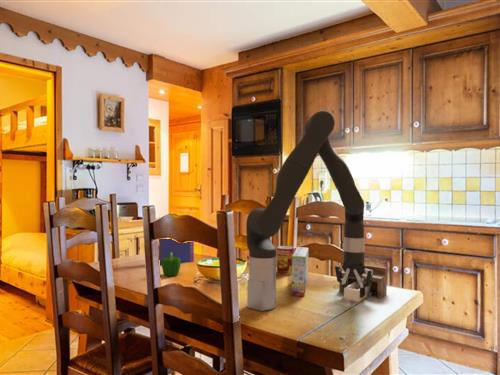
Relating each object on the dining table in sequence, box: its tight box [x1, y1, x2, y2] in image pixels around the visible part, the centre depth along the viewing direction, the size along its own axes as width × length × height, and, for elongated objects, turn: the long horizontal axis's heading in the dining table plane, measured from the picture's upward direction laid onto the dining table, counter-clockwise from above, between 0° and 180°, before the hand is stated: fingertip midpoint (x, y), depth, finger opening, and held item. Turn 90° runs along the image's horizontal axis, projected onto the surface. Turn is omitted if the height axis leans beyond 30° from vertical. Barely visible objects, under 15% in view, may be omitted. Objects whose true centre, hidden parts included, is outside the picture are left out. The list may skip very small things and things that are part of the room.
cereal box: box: [158, 217, 195, 266], centre depth 200 cm, size 17×5×24 cm, turn 120°
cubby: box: [338, 264, 388, 299], centre depth 147 cm, size 7×16×10 cm, turn 54°
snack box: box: [290, 246, 310, 297], centre depth 153 cm, size 21×6×15 cm, turn 168°
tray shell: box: [343, 281, 372, 302], centre depth 143 cm, size 14×6×4 cm, turn 144°
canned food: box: [276, 245, 295, 276], centre depth 178 cm, size 8×8×12 cm
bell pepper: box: [161, 253, 181, 277], centre depth 173 cm, size 8×8×10 cm
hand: (353, 295), depth 140 cm, fingers closed on tray shell, 5 cm apart
